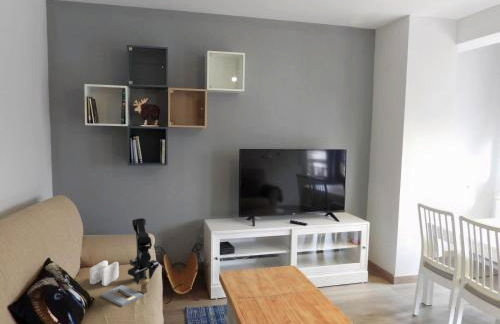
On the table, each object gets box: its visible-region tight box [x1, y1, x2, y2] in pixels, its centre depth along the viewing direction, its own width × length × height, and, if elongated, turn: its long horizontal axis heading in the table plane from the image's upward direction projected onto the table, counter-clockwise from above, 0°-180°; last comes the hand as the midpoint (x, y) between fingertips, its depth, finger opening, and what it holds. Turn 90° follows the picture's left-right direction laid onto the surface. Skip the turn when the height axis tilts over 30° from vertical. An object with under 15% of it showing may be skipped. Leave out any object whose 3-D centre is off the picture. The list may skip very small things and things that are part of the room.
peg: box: [138, 277, 150, 294], centre depth 207 cm, size 5×5×8 cm
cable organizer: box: [89, 260, 120, 287], centre depth 219 cm, size 15×11×12 cm
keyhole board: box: [100, 284, 144, 307], centre depth 202 cm, size 20×14×2 cm
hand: (143, 281), depth 207 cm, fingers open, 9 cm apart
